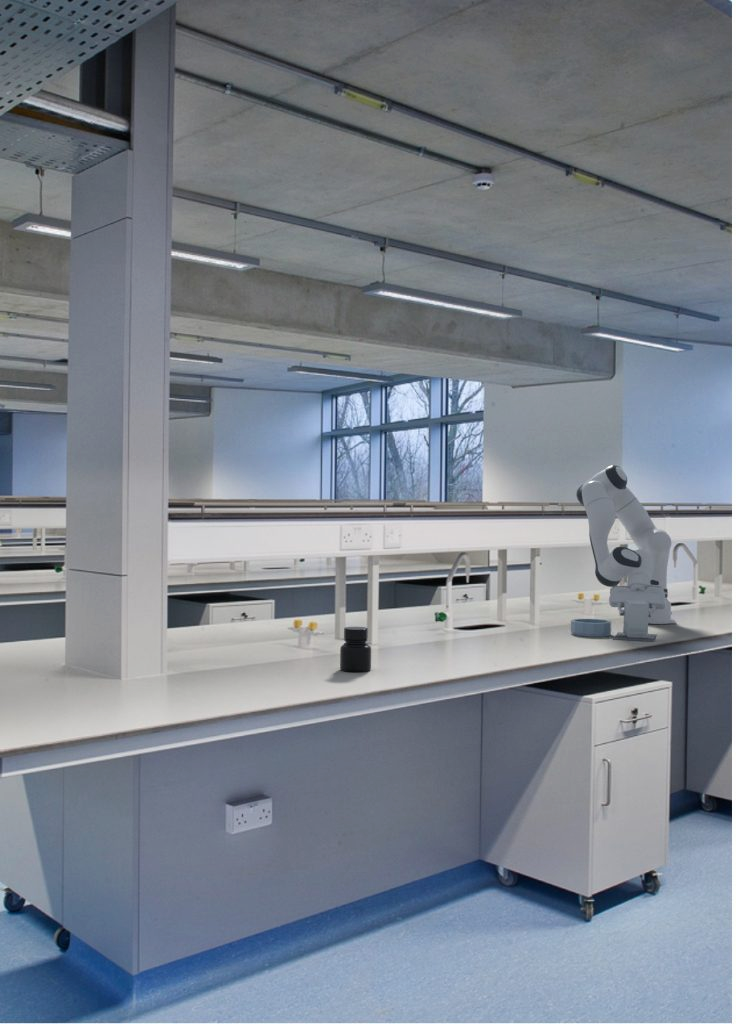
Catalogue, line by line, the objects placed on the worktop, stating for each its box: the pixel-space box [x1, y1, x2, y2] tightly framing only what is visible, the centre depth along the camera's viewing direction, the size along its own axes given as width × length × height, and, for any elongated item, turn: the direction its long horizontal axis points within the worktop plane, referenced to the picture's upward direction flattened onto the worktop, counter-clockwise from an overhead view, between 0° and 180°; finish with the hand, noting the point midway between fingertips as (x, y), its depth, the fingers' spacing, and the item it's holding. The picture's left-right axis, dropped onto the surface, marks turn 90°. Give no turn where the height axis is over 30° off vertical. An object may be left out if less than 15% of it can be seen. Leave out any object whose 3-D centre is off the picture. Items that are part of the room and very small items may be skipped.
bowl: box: [570, 618, 612, 638], centre depth 349 cm, size 14×14×5 cm
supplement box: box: [622, 600, 649, 638], centre depth 342 cm, size 7×7×13 cm
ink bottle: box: [339, 626, 372, 673], centre depth 267 cm, size 10×9×12 cm
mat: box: [612, 631, 657, 643], centre depth 343 cm, size 20×14×1 cm
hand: (635, 615), depth 342 cm, fingers closed on supplement box, 8 cm apart
